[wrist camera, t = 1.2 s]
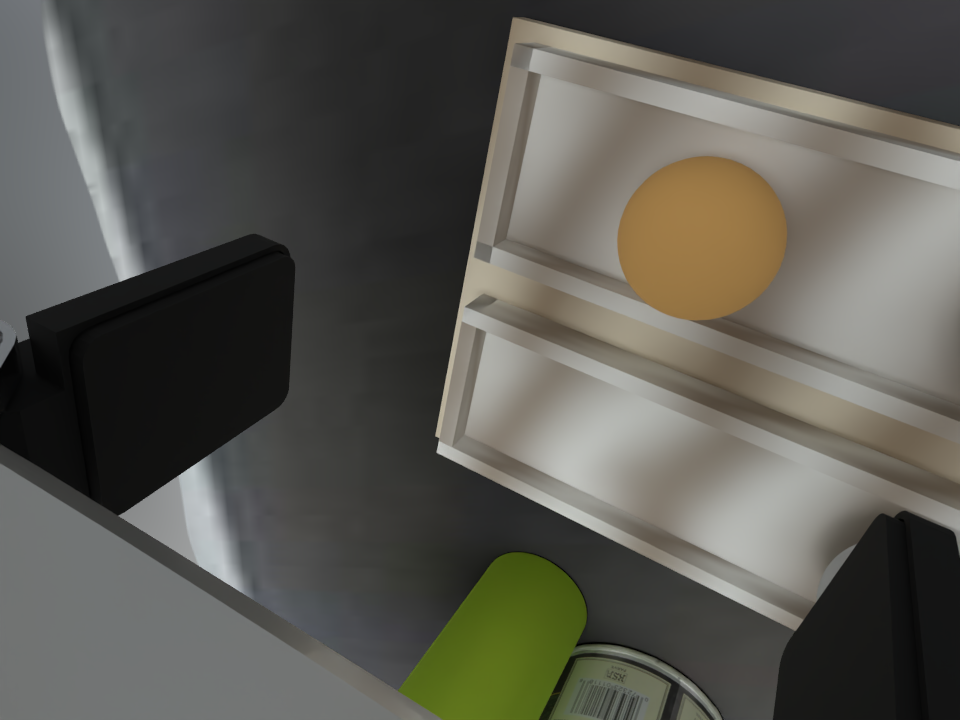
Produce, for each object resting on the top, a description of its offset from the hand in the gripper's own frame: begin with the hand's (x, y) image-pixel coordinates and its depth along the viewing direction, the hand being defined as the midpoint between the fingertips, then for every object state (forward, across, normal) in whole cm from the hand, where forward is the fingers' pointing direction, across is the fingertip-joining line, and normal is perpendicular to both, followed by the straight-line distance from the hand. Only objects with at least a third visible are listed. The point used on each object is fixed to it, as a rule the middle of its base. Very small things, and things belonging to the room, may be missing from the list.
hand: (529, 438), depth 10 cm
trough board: (+17, -3, +6) cm, 18 cm away
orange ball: (+16, 0, 0) cm, 16 cm away
